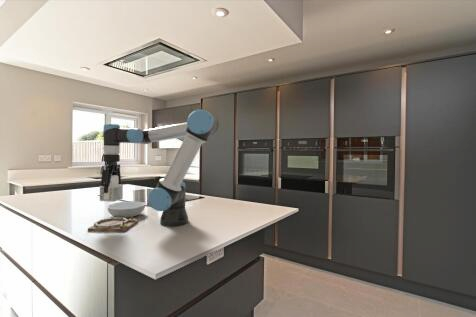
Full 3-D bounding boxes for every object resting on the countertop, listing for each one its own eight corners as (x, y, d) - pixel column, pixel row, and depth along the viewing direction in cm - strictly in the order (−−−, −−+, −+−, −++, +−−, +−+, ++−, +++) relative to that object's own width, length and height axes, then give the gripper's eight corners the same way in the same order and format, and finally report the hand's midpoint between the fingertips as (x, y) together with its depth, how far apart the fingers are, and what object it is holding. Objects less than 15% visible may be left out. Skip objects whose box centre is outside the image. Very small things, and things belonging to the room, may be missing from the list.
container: (99, 201, 122) (99, 175, 122) (109, 198, 130) (109, 174, 130) (113, 201, 121) (113, 176, 121) (122, 199, 129) (123, 174, 128)
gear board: (138, 222, 134) (138, 215, 134) (124, 231, 118) (124, 223, 118) (105, 221, 134) (105, 214, 134) (87, 231, 118) (87, 223, 118)
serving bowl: (99, 218, 140) (98, 206, 140) (126, 210, 160) (126, 200, 160) (127, 222, 134) (127, 210, 133) (152, 213, 153) (152, 202, 153)
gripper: (114, 153, 135) (114, 193, 136) (92, 154, 114) (92, 201, 115) (128, 153, 135) (127, 194, 136) (108, 154, 114) (108, 201, 115)
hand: (111, 197), depth 125 cm, fingers closed on container, 8 cm apart
